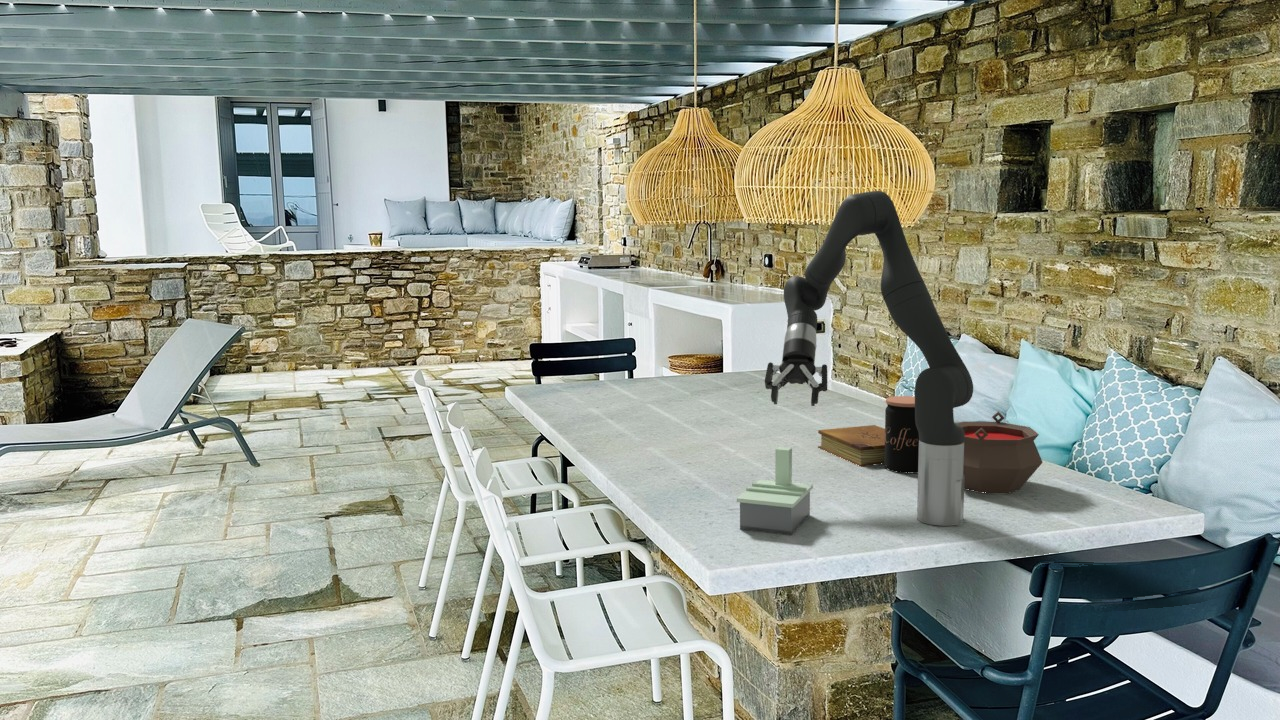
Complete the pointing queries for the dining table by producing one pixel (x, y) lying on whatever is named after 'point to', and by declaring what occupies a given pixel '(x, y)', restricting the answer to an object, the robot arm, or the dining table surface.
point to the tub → (774, 517)
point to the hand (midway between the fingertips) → (793, 403)
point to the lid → (777, 485)
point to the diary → (855, 444)
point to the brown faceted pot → (998, 455)
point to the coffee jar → (901, 435)
